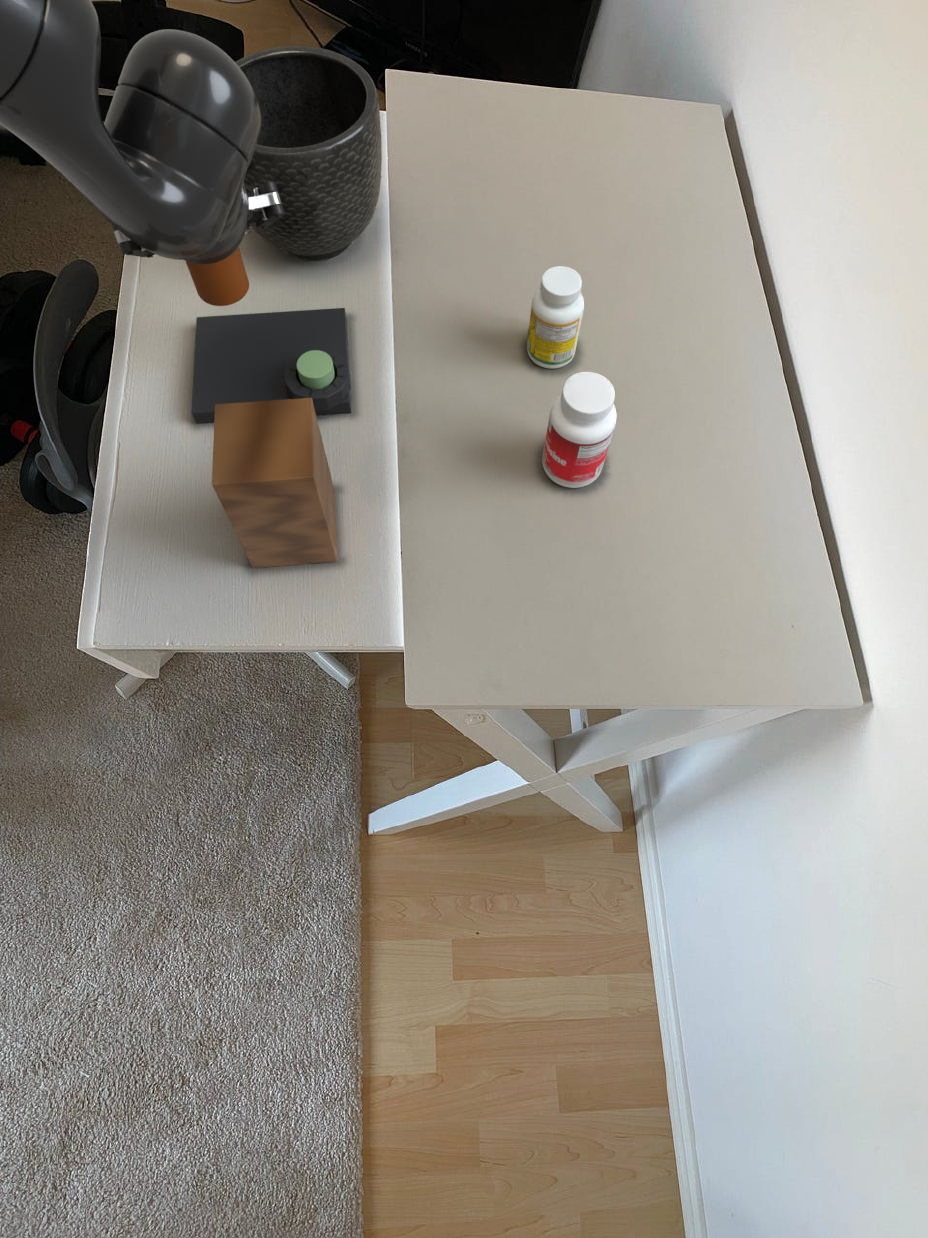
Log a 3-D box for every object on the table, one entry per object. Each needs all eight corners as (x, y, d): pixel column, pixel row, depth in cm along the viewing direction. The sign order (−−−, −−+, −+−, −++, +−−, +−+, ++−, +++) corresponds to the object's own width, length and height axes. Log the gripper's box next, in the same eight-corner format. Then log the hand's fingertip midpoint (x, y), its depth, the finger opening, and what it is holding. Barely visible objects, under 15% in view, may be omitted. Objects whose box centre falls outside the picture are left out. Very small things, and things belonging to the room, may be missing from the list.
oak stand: (252, 568, 75) (211, 485, 62) (253, 497, 78) (214, 403, 65) (337, 561, 75) (313, 477, 62) (334, 491, 78) (311, 397, 65)
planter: (363, 301, 89) (346, 169, 74) (220, 271, 90) (175, 135, 76) (407, 199, 95) (399, 60, 81) (274, 173, 97) (242, 31, 82)
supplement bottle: (562, 377, 84) (575, 308, 76) (517, 358, 85) (525, 288, 77) (583, 343, 86) (597, 272, 78) (539, 325, 87) (548, 253, 79)
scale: (195, 429, 81) (185, 407, 78) (200, 328, 87) (191, 303, 83) (353, 418, 82) (349, 396, 79) (348, 318, 87) (344, 294, 84)
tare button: (299, 390, 79) (296, 378, 78) (299, 363, 81) (296, 350, 79) (335, 388, 80) (333, 376, 78) (334, 360, 81) (332, 348, 79)
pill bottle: (534, 446, 81) (545, 370, 71) (591, 434, 81) (610, 358, 71) (551, 495, 78) (566, 425, 68) (610, 483, 79) (633, 412, 69)
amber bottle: (196, 308, 75) (160, 216, 66) (198, 270, 77) (163, 175, 68) (249, 304, 75) (220, 212, 66) (249, 266, 77) (222, 172, 68)
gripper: (272, 121, 57) (266, 170, 73) (72, 167, 55) (110, 207, 70) (305, 233, 60) (293, 257, 75) (116, 281, 58) (143, 295, 73)
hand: (204, 233), depth 73 cm, fingers closed on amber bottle, 5 cm apart
